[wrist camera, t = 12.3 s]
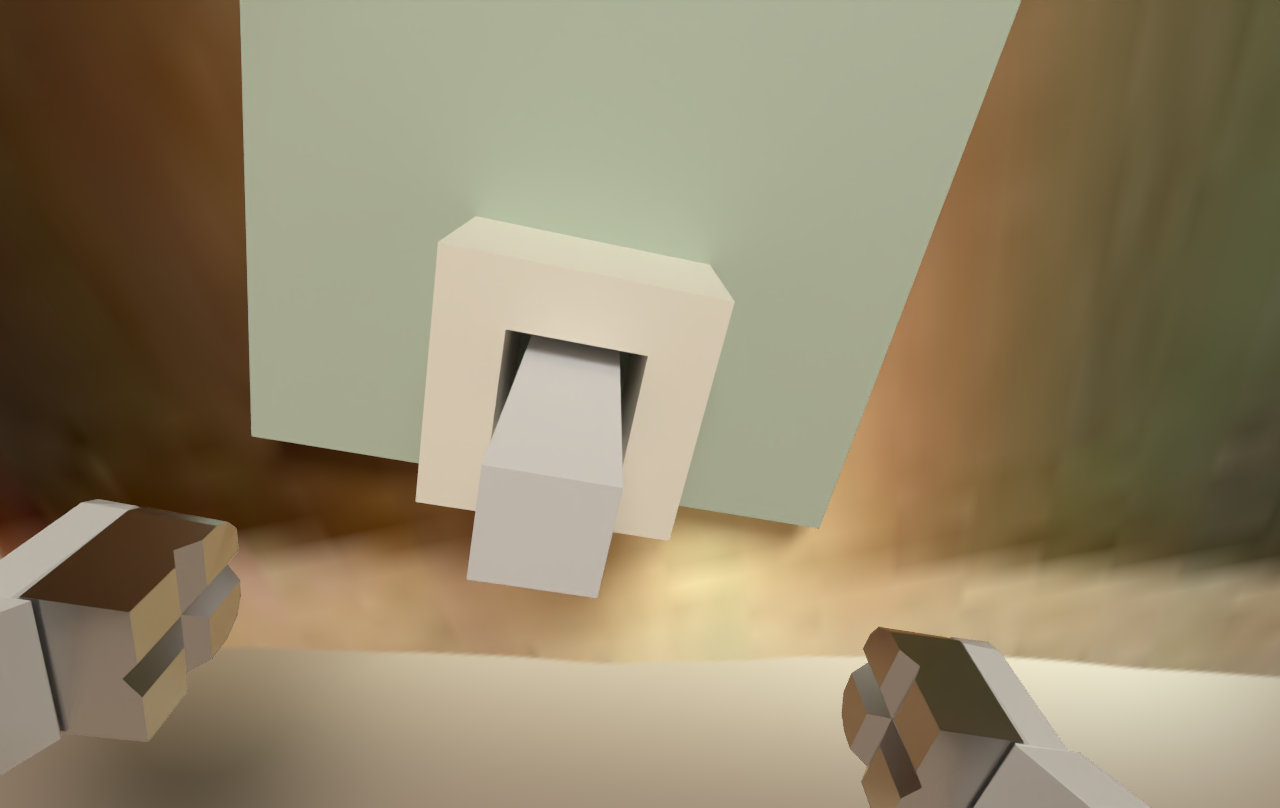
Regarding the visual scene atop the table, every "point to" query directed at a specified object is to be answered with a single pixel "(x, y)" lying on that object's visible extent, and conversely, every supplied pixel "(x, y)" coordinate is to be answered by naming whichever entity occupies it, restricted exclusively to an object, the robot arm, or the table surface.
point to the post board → (599, 225)
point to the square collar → (577, 312)
